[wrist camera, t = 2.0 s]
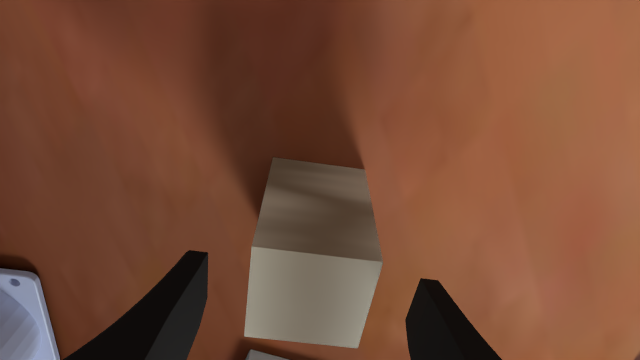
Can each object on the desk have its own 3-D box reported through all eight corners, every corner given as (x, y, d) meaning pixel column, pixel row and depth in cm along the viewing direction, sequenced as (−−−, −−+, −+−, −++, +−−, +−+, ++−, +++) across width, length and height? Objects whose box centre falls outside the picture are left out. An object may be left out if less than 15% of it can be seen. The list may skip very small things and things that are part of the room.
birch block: (265, 231, 19) (244, 336, 14) (273, 157, 17) (251, 246, 12) (348, 241, 20) (357, 348, 14) (364, 169, 18) (383, 262, 12)
